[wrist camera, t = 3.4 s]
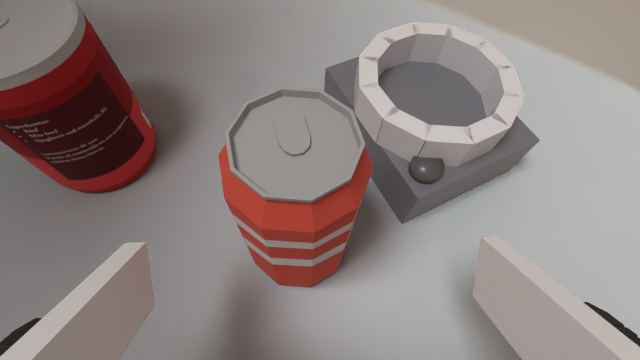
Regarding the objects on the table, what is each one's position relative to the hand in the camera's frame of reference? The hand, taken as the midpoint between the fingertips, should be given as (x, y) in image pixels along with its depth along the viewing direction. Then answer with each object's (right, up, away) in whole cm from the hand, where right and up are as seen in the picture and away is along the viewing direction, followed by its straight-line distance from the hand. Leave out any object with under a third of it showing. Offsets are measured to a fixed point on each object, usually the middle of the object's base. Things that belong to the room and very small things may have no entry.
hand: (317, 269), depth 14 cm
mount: (+8, +7, +14) cm, 18 cm away
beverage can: (-1, -1, +10) cm, 10 cm away
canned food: (-16, +6, +13) cm, 21 cm away
